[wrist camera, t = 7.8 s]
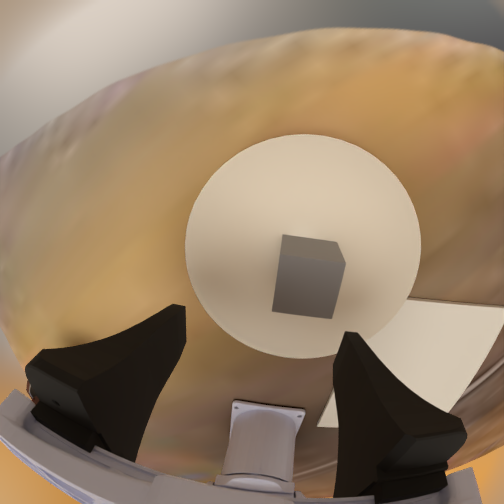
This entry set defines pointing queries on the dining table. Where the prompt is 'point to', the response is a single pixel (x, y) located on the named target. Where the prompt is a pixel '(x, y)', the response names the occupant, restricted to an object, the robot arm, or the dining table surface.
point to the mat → (433, 349)
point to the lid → (302, 245)
